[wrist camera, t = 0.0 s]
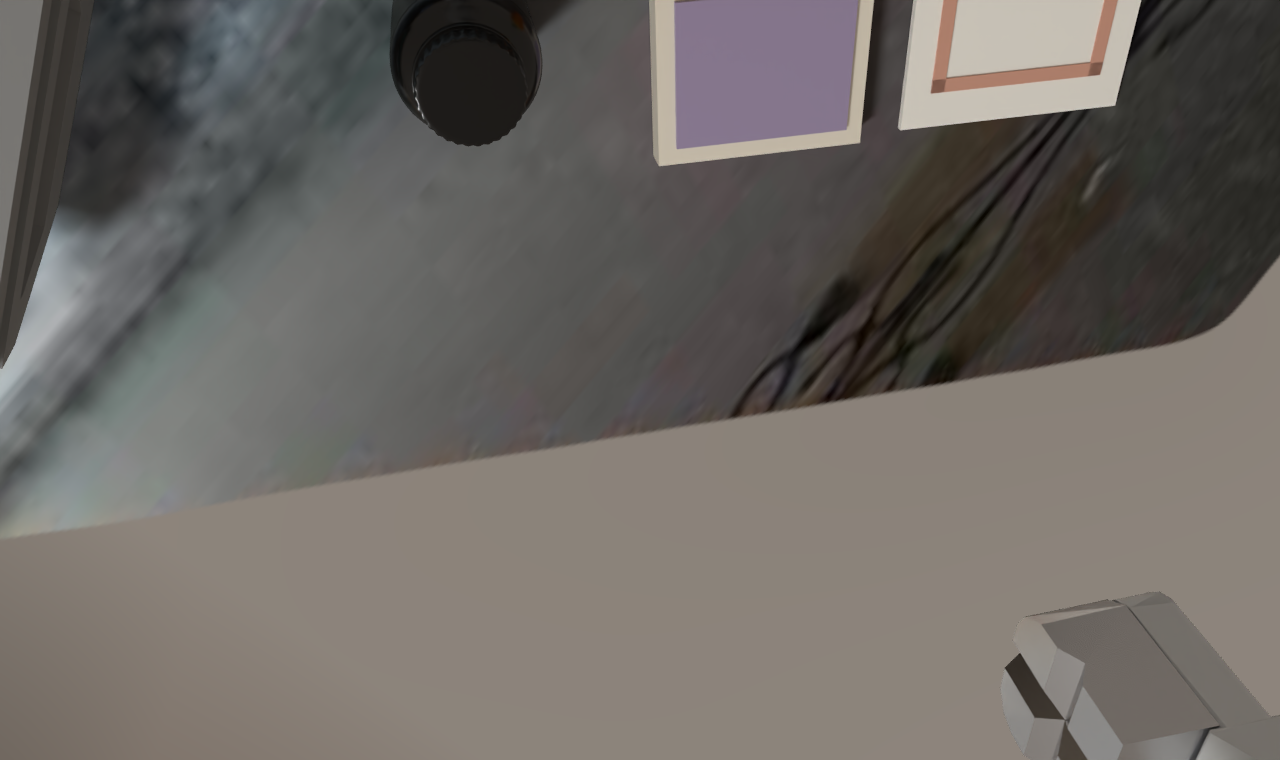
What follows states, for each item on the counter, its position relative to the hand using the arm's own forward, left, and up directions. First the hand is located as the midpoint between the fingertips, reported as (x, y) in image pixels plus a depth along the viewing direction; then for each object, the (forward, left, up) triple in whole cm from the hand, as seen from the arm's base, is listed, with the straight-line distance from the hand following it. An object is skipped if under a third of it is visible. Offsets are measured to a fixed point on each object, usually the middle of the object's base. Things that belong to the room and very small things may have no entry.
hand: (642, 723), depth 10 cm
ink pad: (+10, +16, -48) cm, 52 cm away
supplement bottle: (+6, 0, -48) cm, 49 cm away
